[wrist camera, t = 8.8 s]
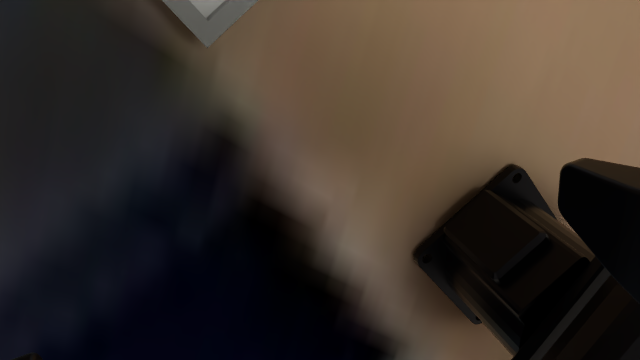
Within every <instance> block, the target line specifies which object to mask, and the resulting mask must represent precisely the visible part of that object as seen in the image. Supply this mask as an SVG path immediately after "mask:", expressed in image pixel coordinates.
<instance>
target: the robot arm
mask: <svg viewBox="0 0 640 360" xmlns="http://www.w3.org/2000/svg"><path fill="white" fill-rule="evenodd" d="M515 174H516V176H515V177H514V178H513V176H514V175H515ZM558 208H559V210H560V213H561V214H562V216H563V217H564V219H565V220H566V221H567V222H568V223H569V225H570V226H571V227H572V228H573V230H574V231H575V232H576V233H577V234H578V235H577V234H576V233H574V232H573V231H572V230H570V229H569V228H567V227H566V226H564V225H563V224H562V223H560V222H559V221H558V220H557V219H556V217H555V216H554V214H553V213H552V211H551V210H550V208H549V207H548V205H547V203H546V202H545V200H544V199H543V197H542V196H541V194H540V193H539V191H538V190H537V188H536V187H535V185H534V183H533V182H532V180H531V179H530V177H529V176H528V174H527V173H526V171H525V170H524V169H523V168H521V167H519V166H518V165H511V166H509V167H508V168H507V169H505V170H504V171H503V172H502V173H501V174H500V175H499V176H498V177H497V178H495V179H494V180H493V181H492V182H491V183H490V184H489V185H488V186H486V187H485V188H484V189H483V190H482V191H481V192H480V193H479V194H478V195H476V196H475V197H474V198H473V199H472V200H471V201H470V202H469V203H468V204H466V205H465V206H464V207H463V208H462V209H461V210H460V211H459V212H458V213H456V214H455V215H454V216H453V217H452V218H451V219H450V220H449V221H448V222H446V223H445V224H444V225H443V226H442V227H441V228H440V229H439V230H438V231H436V232H435V233H434V234H433V235H432V236H431V237H430V238H429V239H427V240H426V241H425V242H424V243H423V244H422V245H421V246H420V247H419V248H418V249H417V250H416V251H415V253H414V260H415V262H416V263H417V264H418V265H419V266H420V267H421V268H422V270H423V271H424V272H425V273H426V274H427V275H428V276H429V277H430V278H431V279H432V280H433V281H434V282H435V283H436V284H437V285H438V287H439V288H440V289H441V290H442V291H443V292H444V293H445V294H446V295H447V296H448V297H449V298H450V299H451V300H452V301H453V303H454V304H455V305H456V306H457V307H458V308H459V309H460V310H461V311H462V312H463V313H464V314H465V315H466V316H467V317H468V319H469V320H470V321H471V322H472V323H474V324H480V323H482V322H483V324H484V325H485V326H486V327H487V328H488V329H489V330H490V331H491V332H492V333H493V335H494V336H495V337H496V338H497V339H498V340H499V341H500V342H501V343H502V344H503V346H504V347H505V348H506V349H507V350H508V351H509V352H510V353H511V354H512V355H513V358H512V359H511V360H640V168H638V167H632V166H627V165H622V164H616V163H611V162H605V161H600V160H594V159H589V158H581V159H578V160H575V161H573V162H570V163H567V164H565V165H564V166H563V167H562V169H561V171H560V181H559V192H558ZM426 254H428V255H427V256H426V257H425V258H423V257H424V256H425V255H426ZM12 360H43V359H42V358H41V356H40V355H38V354H37V353H33V352H32V353H29V354H26V355H23V356H20V357H17V358H15V359H12Z"/></svg>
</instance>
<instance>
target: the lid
mask: <svg viewBox="0 0 640 360" xmlns="http://www.w3.org/2000/svg"><path fill="white" fill-rule="evenodd" d="M162 1H163V2H164V3H165V4H166V5H167V6H168V7H169V8H170V9H171V10H172V11H173V12H174V13H175V15H176V16H177V17H178V18H179V19H180V20H181V21H182V22H183V23H184V24H185V25H186V26H187V27H188V28H189V29H190V30H191V31H192V32H193V34H194V35H195V36H196V37H197V38H198V39H199V40H200V41H201V42H202V43H203V44H204V45H205V46H206V47H207V48H208V47H209V46H210V45H211V44H212V43H213V42H214V41H215V40H217V39H218V38H219V37H220V36H221V35H222V34H223V33H224V32H225V31H226V30H227V29H228V28H229V27H230V26H231V25H233V24H234V23H235V22H236V21H237V20H238V19H239V18H240V17H241V16H242V15H243V14H244V13H245V12H246V11H247V10H249V9H250V8H251V7H252V6H253V5H254V4H255V3H256V2H257V1H258V0H162Z"/></svg>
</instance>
